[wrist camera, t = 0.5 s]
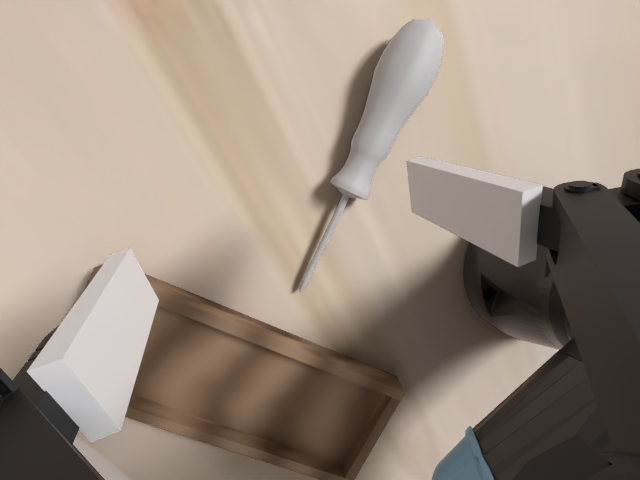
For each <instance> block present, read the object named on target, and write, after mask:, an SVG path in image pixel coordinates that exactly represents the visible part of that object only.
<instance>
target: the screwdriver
mask: <svg viewBox="0 0 640 480" xmlns="http://www.w3.org/2000/svg"><path fill="white" fill-rule="evenodd" d="M443 47H444V39H443V35H442V33H441V30H440V29H439V28H438V26H437V25H436V23H435V22H434V21H432V20H431V19H414V20H411V21H410V22H408V23H407V24H405V25H404V26H403V27H402V28H401V29H400V30H399V31H398V32H397V34H396V35H395V36H394V37H393V38H392V39H391V41H390V42H389V44H388V45H387V46H386V48H385V49H384V51H383V53H382V55H381V57H380V59H379V62H378V64H377V66H376V68H375V70H374V74H373V79H372V84H371V87H370V91H369V95H368V98H367V102H366V106H365V109H364V113H363V115H362V118H361V120H360V123H359V125H358V128H357V130H356V132H355V134H354V136H353V138H352V140H351V150H350V153H349V156H348V158H347V161H346V163H345V165H344V166H343V168H342V169H341V170H340V171H339V172H338V173H337V174H336V175H335V176H334V177H333V178H332V179H331V181H330V183H331V184H333V185H334V186H335V187H336V188H338V189H339V192H341V193H342V194H343V196H342V198H341V200H340V202H339V204H338V206H337V208H336V210H335V212H334V215H333V217H332V219H331V221H330V223H329V225H328V227H327V229H326V231H325V233H324V235H323V238H322V240H321V242H320V244H319V246H318V248H317V250H316V252H315V254H314V256H313V258H312V261H311V263H310V265H309V267H308V269H307V271H306V273H305V275H304V277H303V280H302V282H301V284H300V292H301V291H303V290H304V289H306V287H307V284H308V282H309V280H310V278H311V276H312V274H313V272H314V270H315V268H316V266H317V264H318V262H319V260H320V258H321V255H322V253H323V251H324V249H325V247H326V245H327V243H328V241H329V239H330V237H331V235H332V233H333V231H334V229H335V226H336V224H337V222H338V220H339V218H340V216H341V214H342V212H343V210H344V208H345V206H346V204H347V202H348V200H349V197H351V198H354V199H355V198H360V199H364V200H367V199H368V197H369V193H370V183H371V178H372V176H373V174H374V172H375V170H376V168H377V167H378V165H379V164H380V163H381V162H382V161H383V160H384V159H385V158H386V157H387V155H388V153H389V151H390V149H391V147H392V145H393V143H394V141H395V139H396V137H397V136H398V134H399V132H400V131H401V129H402V128H403V126H404V125H405V123H406V122H407V121H408V119H409V118H410V116H411V115H412V114H413V112H414V111H415V110H416V108H417V107H418V106H419V104H420V103H421V102H422V101H423V99H424V98H425V97H426V96H427V94H428V92H429V90H430V88H431V86H432V84H433V82H434V80H435V78H436V76H437V74H438V70H439V67H440V63H441V59H442V53H443Z"/></svg>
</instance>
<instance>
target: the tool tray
mask: <svg viewBox="0 0 640 480" xmlns="http://www.w3.org/2000/svg"><path fill="white" fill-rule="evenodd" d="M102 265H103V264H102ZM102 265H100V266H97V267H95V268H94V270H93V273H92V275H91V277H90V280H89V282H88V285H89V284H90V282H91V281H92V279H93V278H94V277H95V275H96V274H97V272H98V271H99V270H100V268H101V267H102ZM145 276H146V278H147V279H148V281H149V283H150V285H151V287H152V288H153V290H154V292H155V294H156V296H157V297H158V299H159V302H158V305H157V309H156V312H155V315H154V319H153V322H152V326H151V329H150V333H149V336H148V340H147V343H146V346H145V350H144V353H143V357H142V360H141V364H140V367H139V370H138V374H137V377H136V381H135V384H134V388H133V391H132V394H131V398H130V401H129V405H128V408H127V412H126V415H125V417H128V418H131V419H134V420H137V421H140V422H143V423H146V424H149V425H152V426H155V427H159V428H162V429H165V430H168V431H171V432H174V433H177V434H180V435H183V436H187V437H190V438H193V439H196V440H199V441H202V442H205V443H208V444H211V445H215V446H218V447H221V448H224V449H227V450H230V451H233V452H236V453H239V454H243V455H246V456H249V457H252V458H255V459H258V460H261V461H264V462H267V463H271V464H274V465H277V466H280V467H283V468H286V469H289V470H292V471H295V472H299V473H302V474H305V475H308V476H311V477H314V478H317V479H320V480H354V479H355V478H356V476H357V474H358V472H359V471H360V469H361V467H362V466H363V464H364V462H365V460H366V459H367V457H368V455H369V454H370V452H371V450H372V448H373V447H374V445H375V443H376V442H377V440H378V438H379V436H380V435H381V433H382V431H383V430H384V428H385V426H386V424H387V423H388V421H389V419H390V418H391V416H392V414H393V412H394V411H395V409H396V407H397V406H398V404H399V402H400V400H401V399H402V397H403V395H404V394H405V391H404V389H403V388H402V386H401V384H400V382H399V381H398V379H397V377H396V376H393V375H391V374H388V373H386V372H383V371H381V370H379V369H376V368H374V367H371V366H369V365H366V364H364V363H361V362H359V361H357V360H354V359H352V358H349V357H347V356H344V355H342V354H339V353H337V352H335V351H332V350H330V349H327V348H325V347H322V346H320V345H317V344H315V343H313V342H310V341H308V340H305V339H303V338H300V337H298V336H295V335H293V334H291V333H288V332H286V331H283V330H281V329H278V328H276V327H273V326H271V325H268V324H266V323H264V322H261V321H259V320H256V319H254V318H251V317H249V316H246V315H244V314H242V313H239V312H237V311H234V310H232V309H229V308H227V307H224V306H222V305H220V304H217V303H215V302H212V301H210V300H207V299H205V298H202V297H200V296H198V295H195V294H193V293H190V292H188V291H185V290H183V289H180V288H178V287H176V286H173V285H171V284H168V283H166V282H163V281H161V280H158V279H156V278H154V277H151V276H149V275H146V274H145ZM88 285H87V286H88ZM86 288H87V287H86Z"/></svg>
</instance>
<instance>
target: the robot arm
mask: <svg viewBox="0 0 640 480" xmlns="http://www.w3.org/2000/svg"><path fill="white" fill-rule="evenodd" d="M407 170H408V180H409V190H410V199H411V209H412V212H413V213H415V214H417V215H419V216H421V217H423V218H425V219H427V220H428V221H430V222H432V223H434V224H436V225H438V226H440V227H442V228H444V229H446V230H448V231H449V232H451V233H453V234H455V235H457V236H459V237H461V238H463V239H465V240H467V241H469V242H470V244H469V247H468V249H467V253H466V257H465V263H464V282H465V288H466V292H467V295H468V297H469V300H470V302H471V304H472V305H473V307H474V308H475V310H476V311H477V312H478V314H479V315H480V316H481V317H482V318H484V319H485V320H486V321H487V322H489V323H490V324H492V325H493V326H494V327H496V328H497V329H499V330H500V331H502V332H503V333H505V334H507V335H509V336H512V337H514V338H517V339H520V340H524V341H528V342H532V343H536V344H540V345H544V346H548V347H552V348H555V349H559V351H558V352H557V353H556V354H554V355H553V356H552V357H551V358H550V359H549V360H548V361H547V362H546V363H544V364H543V365H542V366H541V367H540V368H539V369H538V370H537V371H536V372H535V373H533V374H532V375H531V376H530V377H529V378H528V379H527V380H526V381H525V382H524V383H522V384H521V385H520V386H519V387H518V388H517V389H516V390H515V391H514V392H512V393H511V394H510V395H509V396H508V397H507V398H506V399H505V400H504V401H503V402H501V403H500V404H499V405H498V406H497V407H496V408H495V409H494V410H493V411H492V412H490V413H489V414H488V415H487V416H486V417H485V418H484V419H483V420H482V421H480V422H479V423H478V424H477V425H476V426H475V427H474V428H473V429H472V427H471V426H470V427H468V428H467V430H466V431H465V432H466V433H465V437H464V438H463V439H462V440H461V441H460V442H459V443H458V444H457V445H456V446H455V447H454V448H453V449H452V450H451V451H450V452H449V453H448V454H447V455H446V456H445V457H444V458H443V459H442V460H441V462H440V463H439V464H438V465H437V467H436V468H435V471H434V473H433V476H432V480H640V169H635V170H630V171H628V172H626V173H624V177H623V181H622V186H621V187H619V188H613V189H607V188H606V187H605V186H603V185H601V184H599V183H593V182H587V181H574V182H568V183H563V184H559V185H557V186H556V187H554V189H552V188H547V187H543V185H542V184H537V183H533V182H529V181H525V180H520V179H516V178H512V177H507V176H503V175H499V174H494V173H490V172H486V171H481V170H477V169H473V168H468V167H464V166H460V165H455V164H451V163H447V162H442V161H438V160H434V159H429V158H425V157H421V156H420V157H417V158H413V159H410V160H407ZM158 302H159V299H158V297H157V296H156V294H155V292H154V290H153V288H152V287H151V285H150V283H149V281H148V279H147V278H146V276H145V274H144V272H143V270H142V269H141V267H140V265H139V263H138V262H137V260H136V258H135V256H134V254H133V253H132V251H131V249H130V248H128V249H125V250H122V251H119V252H115V253H112V254H110V256H109V257H108V258H107V260H106V261H105V263H104V264H103V265H102V267H101V268H100V270H99V271H98V272H97V274H96V275H95V277H94V278H93V279H92V281H91V282H90V284H89V285H88V286H87V288H86V289H85V291H84V292H83V293H82V295H81V296H80V298H79V299H78V300H77V302H76V303H75V305H74V306H73V307H72V309H71V310H70V312H69V313H68V314H67V316H66V317H65V319H64V320H63V321H62V323H61V324H60V325H59V326H58V327H56V328H55V329H54V330H53V331H52V332H51V333H50V334H48V335H47V336H46V337H45V338H44V339H43V340H42V342H41V343H40V344H39V346H38V347H37V349H36V352H34V353H33V354H32V355H31V357H30V358H29V359H28V362H26V363H25V365H24V366H23V367H22V369H21V370H20V371H19V373H18V374H17V375H16V377H15V378H14V379H13V381H12V380H11V379H10V378H9V377H8V376H7V375H6V374H5V373H4V372H3V370H2V369H1V368H0V480H105V479H104V478H103V477H102V476H101V475H100V474H99V473H98V472H97V471H96V469H95V468H94V467H93V466H92V465H91V464H90V463H89V462H88V461H87V460H86V458H85V457H84V456H83V455H82V454H81V453H80V452H79V451H78V450H77V448H76V447H75V446H73V442H74V439H75V437H76V435H77V432H78V430H80V431H81V432H82V434H83V435H84V436H85V437H86V438H87V439H88V440H89V441H90V442H91V443H92V442H95V441H97V440H100V439H102V438H105V437H107V436H109V435H112V434H114V433H117V432H119V431H121V429H122V425H123V422H124V419H125V415H126V412H127V408H128V405H129V401H130V398H131V394H132V391H133V388H134V384H135V381H136V377H137V374H138V370H139V367H140V364H141V360H142V357H143V353H144V350H145V346H146V343H147V340H148V336H149V333H150V329H151V326H152V322H153V319H154V315H155V312H156V309H157V305H158Z"/></svg>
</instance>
